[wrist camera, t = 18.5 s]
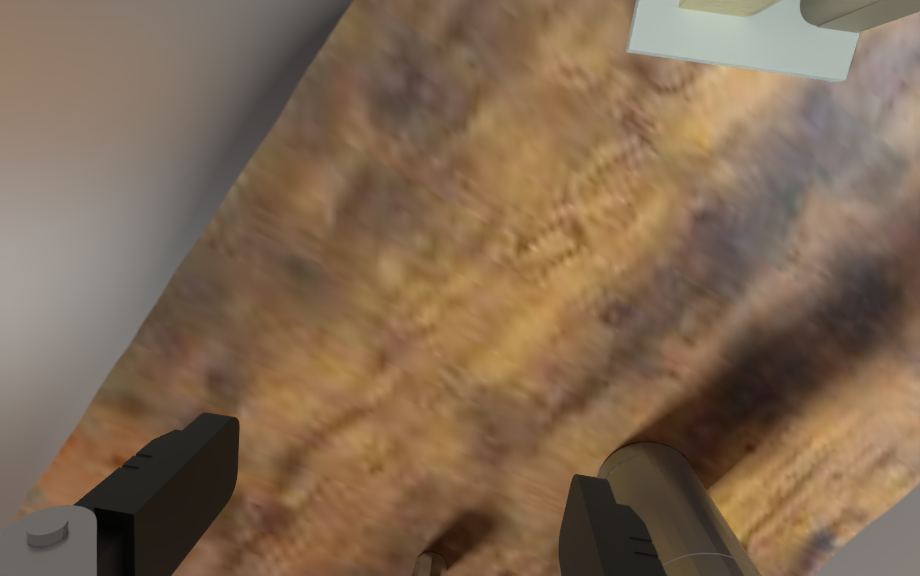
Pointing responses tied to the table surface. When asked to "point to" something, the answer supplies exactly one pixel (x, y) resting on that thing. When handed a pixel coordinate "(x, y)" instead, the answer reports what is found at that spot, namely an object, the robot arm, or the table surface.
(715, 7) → the brown tall block
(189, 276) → the table surface
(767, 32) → the mounting plate
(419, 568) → the milkshake
